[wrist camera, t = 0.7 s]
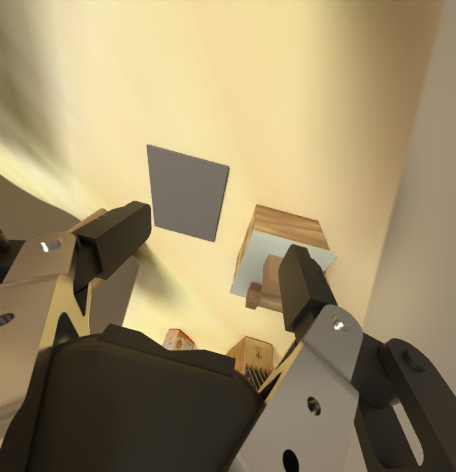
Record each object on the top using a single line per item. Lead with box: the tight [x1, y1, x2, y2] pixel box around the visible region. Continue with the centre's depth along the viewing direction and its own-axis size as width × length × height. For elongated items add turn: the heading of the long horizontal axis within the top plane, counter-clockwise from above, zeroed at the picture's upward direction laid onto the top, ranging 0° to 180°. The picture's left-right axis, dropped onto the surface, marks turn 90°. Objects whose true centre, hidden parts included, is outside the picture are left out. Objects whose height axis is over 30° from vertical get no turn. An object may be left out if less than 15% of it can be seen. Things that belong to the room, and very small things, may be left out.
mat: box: [147, 145, 229, 242], centre depth 32 cm, size 16×13×1 cm
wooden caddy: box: [233, 204, 330, 287], centre depth 29 cm, size 14×16×12 cm
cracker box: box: [162, 329, 194, 350], centre depth 68 cm, size 14×6×21 cm, turn 20°
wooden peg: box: [245, 283, 283, 313], centre depth 28 cm, size 3×12×3 cm, turn 78°
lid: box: [230, 230, 336, 297], centre depth 26 cm, size 15×11×7 cm
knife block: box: [226, 337, 273, 391], centre depth 58 cm, size 11×35×31 cm, turn 161°
